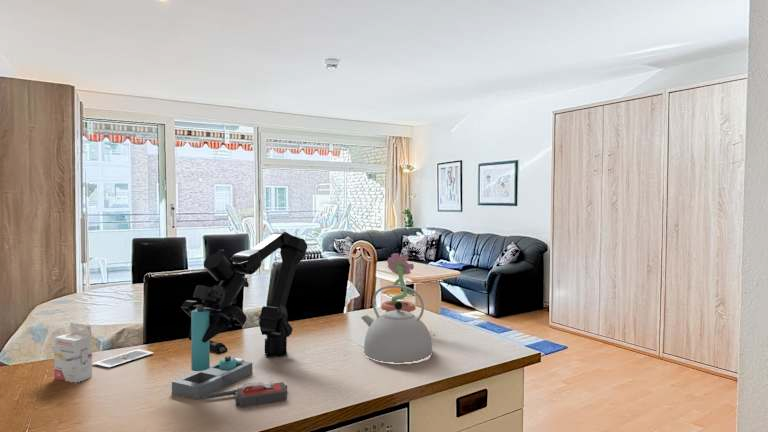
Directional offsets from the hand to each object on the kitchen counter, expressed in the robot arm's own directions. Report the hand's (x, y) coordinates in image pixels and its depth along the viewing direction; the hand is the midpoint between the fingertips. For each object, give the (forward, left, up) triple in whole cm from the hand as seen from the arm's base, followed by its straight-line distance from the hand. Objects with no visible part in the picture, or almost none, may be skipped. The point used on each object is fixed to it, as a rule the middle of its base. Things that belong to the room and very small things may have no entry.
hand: (196, 340), depth 117 cm
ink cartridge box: (+33, -17, -13) cm, 40 cm away
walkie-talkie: (-13, +9, -14) cm, 21 cm away
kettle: (-59, -17, -13) cm, 63 cm away
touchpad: (+24, -31, -14) cm, 42 cm away
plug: (-1, -1, -8) cm, 8 cm away
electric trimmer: (0, -37, -14) cm, 39 cm away
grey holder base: (-4, -5, -13) cm, 15 cm away
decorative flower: (-71, -46, -13) cm, 85 cm away
